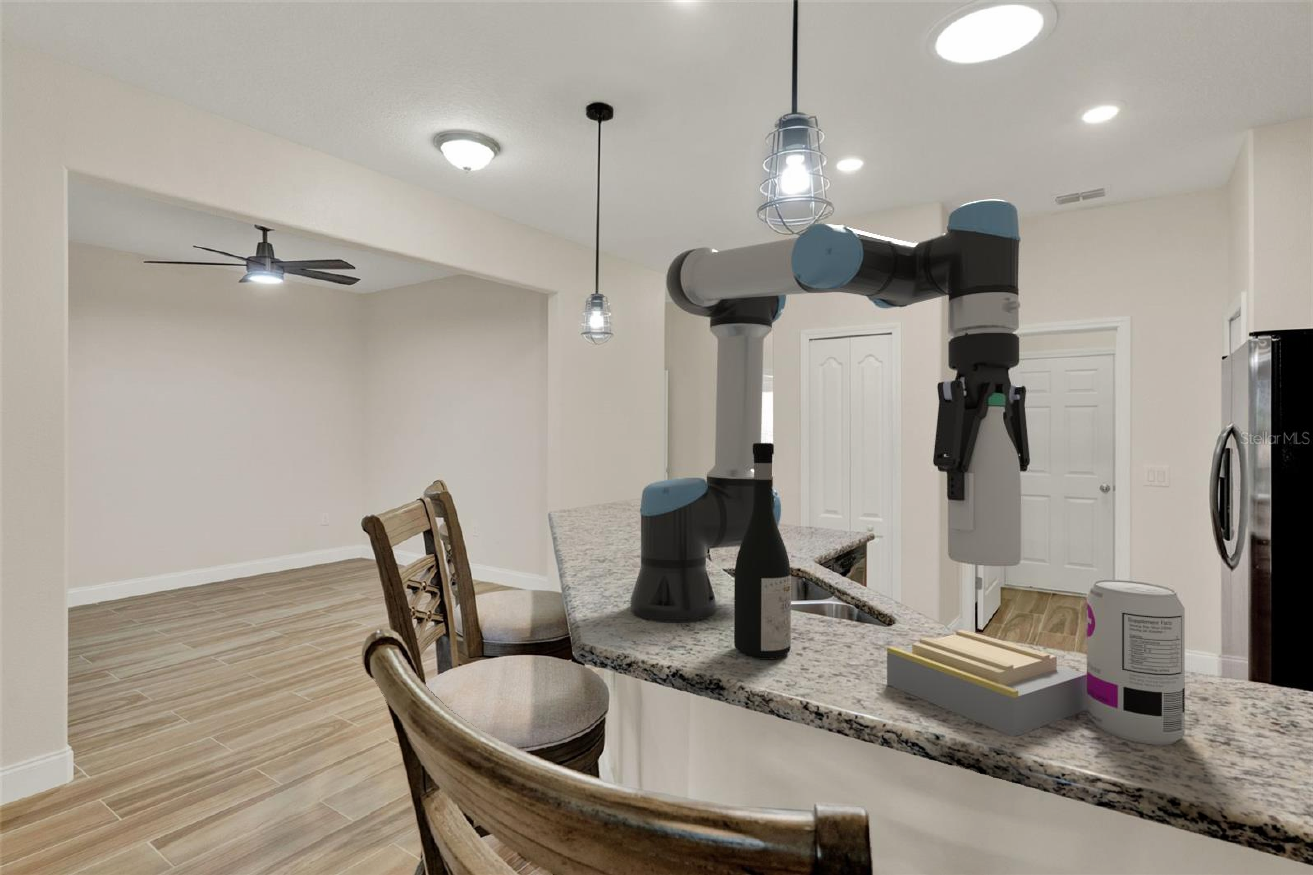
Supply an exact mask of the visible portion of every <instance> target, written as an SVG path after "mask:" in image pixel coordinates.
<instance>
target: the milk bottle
mask: <svg viewBox="0 0 1313 875" xmlns="http://www.w3.org/2000/svg"><path fill="white" fill-rule="evenodd" d="M988 402H989V408H988V411H987V415H986V417H985V418H984V419H982V420H981V423H980V427H979V431H978V434H977V438H976V442H975V446H974V450H973V454H972V457H971V461H970V465H969V469H968V471H967V472H966V473H974V530H970V531H969V530H962V529H954V528H948V527H947V554H948V557H949V559H950V560H952V561H954V562H958V563H962V564H967V565H968V564H969V565H975V566H984V567H987V566H988V567H1011V566H1012V567H1014V566H1017V565H1019V564H1020V563H1021V560H1022V488H1021V487H1022V485H1021V481H1022V480H1021V471H1020V464H1019V458H1018V454H1017V452H1016V449H1015V447H1014V445H1013V443H1012V441H1011V439H1010V437H1009V435H1008V433H1007V430H1006V427H1005V424H1004V420H1003V413H1004V412H1005V395H1004V394H1002V393H994V394H993V395H992V396H990V397H989V398H988ZM1001 406H1004V407H1001ZM964 410H966V409H965V408H964ZM959 461H960V459H959Z"/></svg>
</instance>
